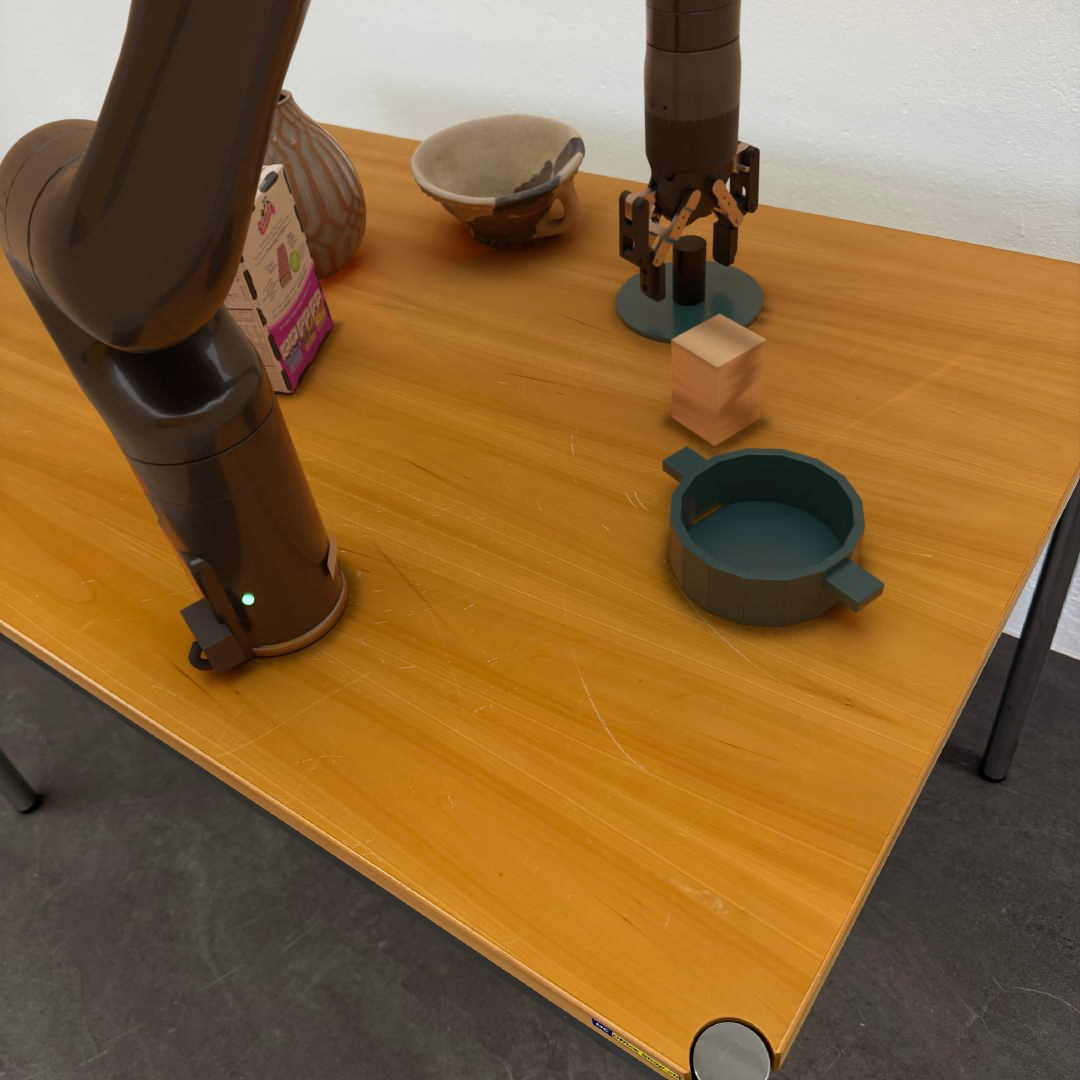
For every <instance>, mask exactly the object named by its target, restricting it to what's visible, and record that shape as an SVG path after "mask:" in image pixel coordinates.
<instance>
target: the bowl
mask: <svg viewBox="0 0 1080 1080" xmlns="http://www.w3.org/2000/svg"><path fill="white" fill-rule="evenodd" d="M585 156H586V146H585V142H584V140H583V137H582V135H581V134H580V133H579V132H578V131H577V130H576V129H575V128H574V127H572V126H570V125H569V124H567V123H565V122H562V121H559V120H556V119H554V118H550V117H545V116H539V115H534V114H527V113H519V114H518V113H512V114H511V113H510V114H501V115H494V116H488V117H482V118H476V119H475V118H474V119H470V120H465V121H464V122H460V123H457V124H453V125H452V126H449V127H446V128H444V129H441V130H439V131H437V132H435V133H433V134H432V135H430V136H429V137H427V138H426V139H424V140H423V141H422V142H421V143H419V144H418V145H417V147H416V148H415V149H414V150H413V153H412V155H411V157H410V160H409V169H410V172H411V175H412V177H413V179H414V181H415V183H416V184H417V186H419V188H420V189H419V190H420V191H421V192H422V193H423V194H426V196H427V197H428V198H432V200H433V201H435V202H439V203H440V205H441V206H442V207H443V208H444V209H445V210H446V211H447V212H448V213H449V214H450V215H452V216H453V217H454V218H456V219H457V220H458V221H460V222H462V223H463V224H464V225H466V226H467V227H468V228H470V229H471V230H470V234H471V236H472V237H473V240H474V241H475V242H477V243H479V244H481V245H483V246H484V247H488V248H491V249H499V248H502V247H507V246H509V247H513V246H515V245H522V244H523V243H524V242H525V243H526V242H532V241H533V240H535V239H539V238H549V237H554V236H557V235H562V234H564V233H567V232H568V231H570V230H572V229H573V228H574V227H575V226H576V225H577V222H578V221H579V219H580V216H581V203H580V198H579V196H578V193H577V191H576V187H575V182H574V179H575V176H576V175H577V174H578V173H579V168H580V166H581V165H582V163H583V161H584V158H585ZM557 199H558V200H559V201H560V203H561V204H562V207H563V215H562V216H561V217H556V218H555V217H554V218H553V217H550V214H551V211H552V207H553V203H554V202H555V200H557Z"/></svg>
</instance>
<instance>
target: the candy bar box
mask: <svg viewBox="0 0 1080 1080" xmlns="http://www.w3.org/2000/svg"><path fill="white" fill-rule="evenodd" d="M223 303H224V305H225V306H226V308H227V310H228V311H229V313H230V314H231V316H232V317H233V319H234V320H235V322H236V323H237V324H238V326H239V327H240V328H241V330H242V331H243V332H244V334H245V335H246V336H247V337H248V339H249V340H250V341H251V343H252V344H253V345H254V347H255V348H256V350H257V352H258V353H259V355H260V357H261V359H262V361H263V364H264V366H265V368H266V371H267V374H268V376H269V379H270V382H271V385H272V387H273V391H274V393H275V394H278V393H279V394H293V393H294V392H295V390H296V388H297V387H298V385H299V384H300V382H301V380H302V379H303V377H304V375H305V373H306V372H307V370H308V368H310V366H311V363H312V362H313V360H314V359H315V357H316V355H317V354H318V352H319V350H320V348H321V346H322V345H323V344H324V342H325V340H326V338H327V337H328V336H329V333H330V332H331V330H332V328H333V327H334V326H335V325H334V324H335V323H334V321H333V319H332V316H331V315H332V314H331V312H330V309H329V306H328V303H327V299H326V296H325V293H324V291H323V288H322V284H321V281H320V280H319V278H318V274H317V271H316V268H315V264H314V262H313V259H312V256H311V252H310V250H309V247H308V243H307V239H306V237H305V233H304V230H303V227H302V224H301V221H300V218H299V215H298V212H297V208H296V205H295V202H294V199H293V196H292V193H291V189H290V186H289V183H288V180H287V177H286V174H285V171H284V167H283V164H274V165H273V164H269V165H263V167H262V172H261V176H260V180H259V185H258V189H257V194H256V198H255V202H254V207H253V211H252V215H251V220H250V224H249V229H248V233H247V237H246V241H245V245H244V249H243V253H242V257H241V260H240V264H239V267H238V270H237V273H236V276H235V279H234V281H233V284H232V286H231V289H230V291H229V293H228V295H227V297H226V299H225V301H224V302H223Z"/></svg>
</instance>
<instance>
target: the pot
mask: <svg viewBox="0 0 1080 1080" xmlns="http://www.w3.org/2000/svg"><path fill="white" fill-rule="evenodd" d="M662 471H663V472H664V473H665V474H667V475H668V476H670V477H671V478H672V479H674V480H675V481H676V482H677V483H678V485H677V486H676V488H675V489H674V490H673V492H672V493H671V499H670V500H671V501H670V511H669V565H670V567H671V570H672V572H673V574H674V577H675V579H676V581H677V583H678V584H679V586H680V589H681V590H682V591H683V592H684V594H686V595H687V596H688V597H689V598H690V599H692V601H693V602H695V603H696V604H697V605H699V606H700V607H701V608H703V609H704V610H705V611H706V612H709V613H711V614H713V615H715V616H718V617H720V618H722V619H724V620H728V621H731V622H734V623H738V624H741V625H747V626H755V627H756V626H757V627H785V626H789V625H794V624H800V623H802V622H806V621H809V620H811V619H815V618H818V617H819V616H821V615H823V614H824V613H825V612H827V611H829V610H830V609H831V608H833V606H835V605H836V604H837V603H839V602H840V603H842V604H843V605H845V606H846V607H848V609H850V610H852V611H853V612H854V613H856V614H857V613H859V612H860V611H861V610H863V609H864V608H866V607H867V606H869V604H871V603H872V602H873V601H875V600H876V599H878V598H880V596H882V595H883V593H884V589H885V583H884V582H883V581H881V580H880V579H879V578H877V577H876V576H875V575H873V574H872V573H870V572H869V571H867V570H866V569H864V568H863V567H861V566H860V565H859V558H860V554H861V549H862V544H863V539H864V534H865V531H866V530H865V529H866V522H865V521H866V520H865V512H864V504H863V499H862V498H861V496H860V495H859V494H858V492H857V491H856V489H855V488H854V486H853V485H852V484H851V482H850V481H849V479H848V478H847V477H846V476H845V474H842V473H841V472H839V471H838V470H836V469H835V468H833V467H831V466H829V465H828V464H827V463H825V462H823V461H822V460H821V459H819V458H816V457H813V456H809V455H806V454H802V453H800V452H795V451H791V450H788V449H784V448H766V447H765V448H764V447H761V448H760V447H745V448H739V449H737V450H732V451H729V452H728V451H727V452H724V453H719V454H715V455H713V456H711V457H710V458H708V459H707V458H705V457H704V456H703V455H701V454H699V453H698V452H697V451H696V450H694V449H692V448H691V447H689V446H688V445H686V446H684V447H682V448H681V449H679V450H678V451H675V452H674V453H672V454H670V455H669V456H667V457H666V458H664V459H662ZM719 506H720V507H719ZM716 507H718V508H717V509H716V510H714V511H713V512H711V511H712V510H713V509H715V508H716ZM709 512H710V513H709ZM707 513H709V514H708V515H706V514H707ZM705 515H706V516H705ZM702 516H704V517H703V518H701V517H702ZM700 518H701V519H700ZM698 519H700V520H699V521H697V522H695V521H696V520H698ZM694 522H695V523H694Z"/></svg>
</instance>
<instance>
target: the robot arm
mask: <svg viewBox="0 0 1080 1080" xmlns="http://www.w3.org/2000/svg"><path fill="white" fill-rule="evenodd" d="M311 4H312V0H130V4H129V5H130V6H129V11H128V17H127V23H126V29H125V31H124V36H123V38H122V44H121V48H120V52H119V55H118V58H117V61H116V65H115V67H114V69H113V73H112V76H111V79H110V82H109V85H108V87H107V91H106V94H105V97H104V101H103V103H102V106H101V109H100V112H99V115H98V117H97V120H93V119H87V118H64V119H59V120H54V121H49V122H47V123H44V124H42V125H39V126H37V127H35V128H34V129H32V130H29V131H28V132H27V133H26V134H24V135H22V136H21V137H20V138H19V139H17V141H16V142H15V143H13V145H12V146H11V147H10V148H9V150H8V151H6V154H5V155H4V157H3V159H2V160H1V162H0V247H1V249H2V251H3V254H4V256H5V258H6V260H7V261H8V264H9V265H10V267H11V270H12V271H13V274H14V275H15V277H16V279H17V281H18V282H19V284H20V286H21V288H22V290H23V291H24V293H25V295H26V296H27V298H28V300H29V302H30V304H31V305H32V307H33V309H34V310H35V312H36V314H37V315H38V317H39V319H40V321H41V322H42V324H43V326H44V328H45V329H46V331H47V333H48V335H49V336H50V338H51V340H52V341H53V343H54V345H55V347H56V349H57V350H58V352H59V354H60V356H61V357H62V359H63V361H64V362H65V364H66V366H67V368H68V370H69V371H70V373H71V375H72V376H73V378H74V380H75V381H76V383H77V385H78V386H79V388H80V389H81V390H82V392H83V393H84V395H85V396H86V398H87V399H88V401H89V402H90V403H91V405H92V406H93V407H94V409H95V410H96V411H97V413H98V415H99V416H100V417H101V419H102V420H103V422H104V423H105V425H106V426H107V428H108V430H109V431H110V433H111V435H112V436H113V439H114V440H115V442H116V444H117V445H118V447H119V449H120V451H121V453H122V454H123V456H124V458H125V460H126V463H127V464H128V465H129V467H130V469H131V470H132V473H133V474H134V477H135V478H136V480H137V482H138V484H139V486H140V487H141V490H142V491H143V493H144V494H145V497H146V498H147V500H148V502H149V504H150V506H151V507H152V509H153V511H154V513H155V515H156V517H157V523H158V525H159V527H160V529H161V531H162V533H163V535H164V536H165V538H166V540H167V542H168V543H169V546H170V547H171V549H172V551H173V553H174V554H175V557H176V558H177V560H178V562H179V564H180V565H181V568H182V569H183V571H184V573H185V575H186V576H187V579H188V580H189V582H190V584H191V585H192V588H193V589H194V591H195V593H196V595H197V596H198V598H199V600H197V601H195V602H193V603H190V604H189V605H187V606H186V607H184V608H181V609H180V610H179V614H180V615H181V617H182V620H183V621H184V622H185V624H186V626H187V628H188V629H189V631H190V633H191V634H192V636H193V638H194V639H195V640H194V641H192V643H191V646H190V649H189V652H188V662H189V664H190V665H191V667H192V668H194V669H196V670H199V671H203V672H204V671H205V672H208V671H215V673H216V675H217V676H220V675H222V674H223V673H225V672H227V671H228V670H230V669H232V668H234V667H236V666H238V665H239V664H242V663H246V662H247V661H249V660H251V659H253V658H255V657H272V656H279V655H285V654H288V653H292V652H295V651H297V650H300V649H302V648H304V647H306V646H308V645H310V644H312V643H313V642H315V641H317V640H318V639H319V638H321V637H322V636H324V634H326V633H327V632H328V631H329V630H330V629H331V628H332V627H333V626H334V625H335V624H336V623H337V621H338V620H339V619H340V617H341V615H342V614H343V612H344V610H345V608H346V604H347V601H348V595H349V589H348V587H349V586H348V582H347V580H346V576H345V574H344V571H343V568H342V567H341V564H340V563H339V560H338V558H337V555H338V547H339V545H338V543H337V540H336V537H335V535H334V532H333V530H331V537H330V538H329V534H328V533H327V529H326V527H325V524H324V522H323V519H322V516H321V514H320V511H319V509H318V506H317V503H316V501H315V497H314V495H313V492H312V489H311V487H310V485H309V482H308V478H307V476H306V474H305V471H304V469H303V466H302V463H301V460H300V457H299V455H298V451H297V450H296V446H295V444H294V442H293V439H292V436H291V434H290V431H289V427H288V425H287V422H286V420H285V417H284V415H283V411H282V409H281V406H280V404H279V401H278V398H277V396H276V392H274V391H273V387H272V385H271V382H270V379H269V376H268V374H267V371H266V368H265V366H264V364H263V361H262V359H261V357H260V355H259V353H258V352H257V350H256V348H255V347H254V345H253V344H252V343H251V341H250V340H249V339H248V337H247V336H246V335H245V334H244V332H243V331H242V330H241V328H240V327H239V326H238V324H237V323H236V322H235V320H234V319H233V317H232V316H231V314H230V313H229V311H228V310H227V308H226V306H225V305H224V303H223V302H224V301H225V299H226V297H227V295H228V293H229V291H230V289H231V286H232V284H233V281H234V279H235V276H236V273H237V270H238V267H239V264H240V260H241V257H242V253H243V249H244V245H245V241H246V237H247V233H248V229H249V224H250V220H251V215H252V211H253V207H254V202H255V198H256V194H257V189H258V185H259V180H260V176H261V172H262V167H263V163H264V158H265V154H266V150H267V145H268V141H269V136H270V132H271V128H272V124H273V120H274V116H275V112H276V108H277V104H278V101H279V97H280V94H281V90H282V89H283V86H284V82H285V80H286V76H287V74H288V72H289V68H290V65H291V62H292V59H293V57H294V53H295V50H296V47H297V45H298V42H299V39H300V36H301V33H302V30H303V27H304V24H305V21H306V18H307V15H308V12H309V9H310V6H311ZM741 12H742V0H645V54H644V60H643V61H644V62H643V103H644V104H643V108H644V110H643V111H644V144H645V145H644V146H645V152H644V153H645V157H646V160H647V162H648V165H649V168H650V178H649V181H648V185H647V187H646V188H645V189H642V190H640V191H637V192H635V193H634V192H632V191H631V190H628V189H624V190H623V191H622V192H621V193H620V194H619V197H618V239H619V240H618V251H619V252H618V253H619V254H618V255H619V257H620V258H622V259H624V260H625V261H626V262H629V263H630V264H632V265H634V266H636V267H637V268H639V272H640V289H641V291H642V293H644V294H645V295H646V296H647V297H649V298H651V299H652V300H654V301H656V302H659V301H661V300H663V299H665V297H666V285H665V263H666V262H664V261H665V259H666V257H667V256H668V253H669V251H670V248H671V246H672V244H673V243H675V242H677V241H678V240H679V238H680V237H681V236H682V233H683V231H684V229H685V228H686V227H688V226H690V225H692V224H693V223H694V222H696V221H697V220H698V219H702V218H707V217H709V216H711V215H712V214H713V216H714V217H715V218H716V219H717V220H716V221H714V222H713V223H712V228H713V229H712V259H713V261H714V262H718V263H720V264H722V265H724V266H726V267H727V266H729V265H730V266H732V265H733V264H735V261H736V256H737V253H738V247H739V245H738V244H739V243H738V242H739V241H738V240H739V227H740V226H741V225H742V224H743V222H744V217H745V216H746V215H747V214H753V213H755V212H756V211H757V209H758V207H759V196H760V195H759V194H760V163H761V162H760V161H761V151H760V148H759V147H756V146H754V145H752V144H750V143H747V142H745V141H741V140H739V132H740V131H739V130H740V127H739V126H740V111H741V110H740V108H741V86H742V85H741V84H742V51H741V42H740V41H741V38H740V37H741V35H740V33H741V16H742V13H741ZM728 182H729V189H728V187H727V183H728ZM662 217H663V219H665V220H667V221H669V222H670V224H669V226H667V227H665V226H663V225H661V222H660V220H661V219H662ZM657 236H658V241H657V243H656V245H655V248H654V247H653V246H654V243H655V241H656V238H657ZM202 653H203V654H204V656H205V658H203V657H202Z"/></svg>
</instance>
